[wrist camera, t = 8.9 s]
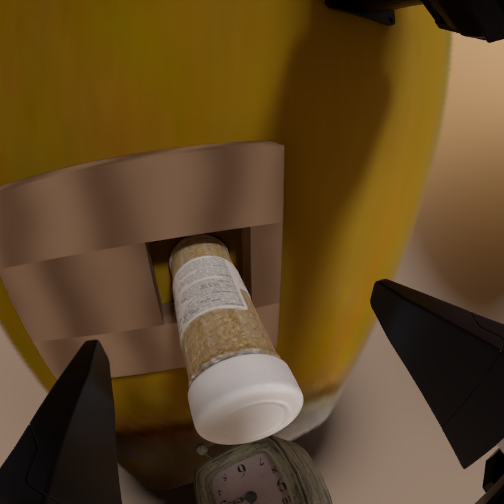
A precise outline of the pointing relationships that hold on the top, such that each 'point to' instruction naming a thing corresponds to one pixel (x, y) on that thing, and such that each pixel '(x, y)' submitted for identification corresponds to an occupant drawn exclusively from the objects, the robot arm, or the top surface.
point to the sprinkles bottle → (227, 349)
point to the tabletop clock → (260, 475)
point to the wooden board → (135, 246)
